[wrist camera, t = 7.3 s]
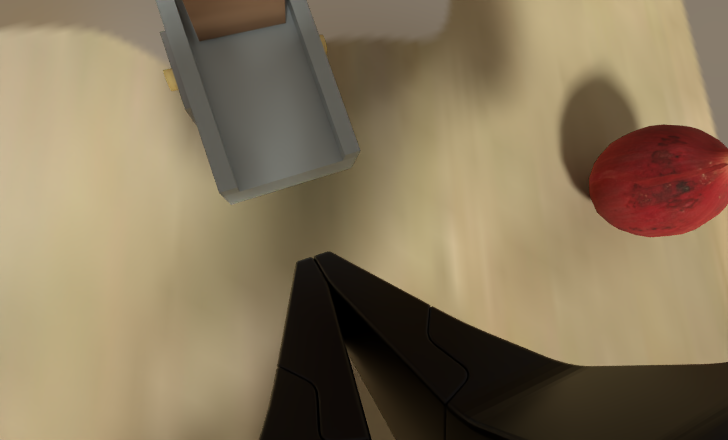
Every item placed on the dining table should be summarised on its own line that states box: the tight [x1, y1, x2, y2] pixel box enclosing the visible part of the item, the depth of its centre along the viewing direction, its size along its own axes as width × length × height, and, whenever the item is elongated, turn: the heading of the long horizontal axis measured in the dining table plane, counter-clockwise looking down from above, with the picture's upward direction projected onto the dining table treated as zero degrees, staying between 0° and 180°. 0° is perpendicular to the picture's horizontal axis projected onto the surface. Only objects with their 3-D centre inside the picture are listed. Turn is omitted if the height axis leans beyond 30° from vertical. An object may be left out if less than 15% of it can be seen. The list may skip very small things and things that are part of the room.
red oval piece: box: [589, 125, 728, 237], centre depth 20 cm, size 6×6×8 cm
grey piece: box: [156, 0, 360, 205], centre depth 18 cm, size 14×8×5 cm, turn 20°
